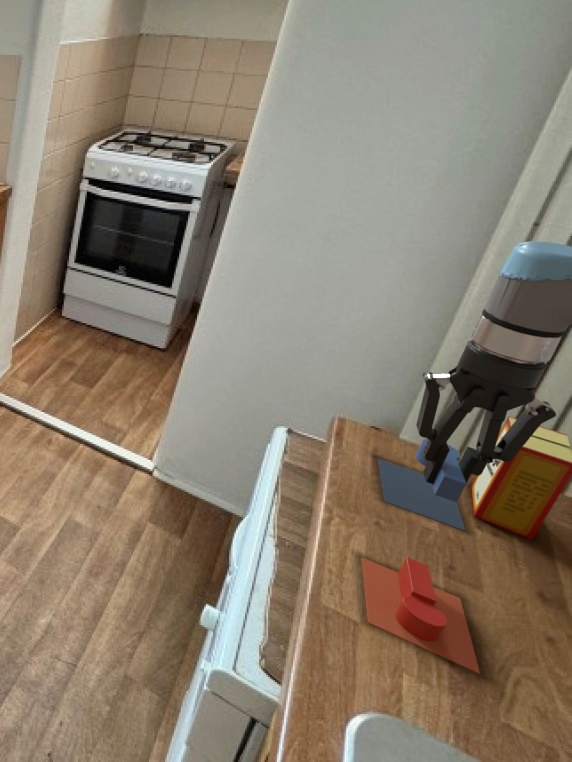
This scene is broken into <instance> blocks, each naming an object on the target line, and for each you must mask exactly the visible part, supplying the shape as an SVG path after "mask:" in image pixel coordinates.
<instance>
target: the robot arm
mask: <svg viewBox="0 0 572 762" xmlns="http://www.w3.org/2000/svg"><path fill="white" fill-rule="evenodd" d="M502 266H503V267H501V268H500V271H499V273H498V275H497V278H496V280H495V282H494V285H493V287H492V289H491V291H490V294H489V296H488V299H487V300H486V303H485V305H484V307H483V309H482V311H481V314H480V316H479V318H478V320H477V322H476V325H475V326H474V329H473V331H472V333H471V335H470V338H471V340H468V341H467V343H466V345H465V347H464V350H463V352H462V354H461V356H460V358H459V360H458V362H457V364H456V366H455V367H454V368H452V369H449V371H448V372H447V373H440V374H439V373H438V374H434V373H433V372H432V371H424V372H423V373H422V378H423V381H424V384H425V388H424V392H423V396H422V400H421V403H420V408H419V411H418V416H417V420H416V429H417V431H418V435H419V437H421V438H425V439H429V440H428V442H427V444H426V446H425V448H424V451H423V453H424V457H425V460H428V462H427V465H426V466H424V468H423V471H422V473H423V474H424V476H425V479H426V482H428V483H431V484H433V482H434V480H435V478H436V476H437V474H438V472H439V470H440V468H441V467H442V465H443V463H444V461H445V459H446V457H447V455H448V453H449V451H450V450H449V447H448V445H449V444H448V441H449V440H450V438H451V436H452V435H453V434H454V433H455V431H456V430H457V429H458V428H459V426H460V425H461V423H462V422H463V421H464V419H465V418H466V416H467V415H468V414H471V413H472V412H473V410H474V409H475V408H478V409H483V410H485V412H484V416H483V420H482V423H481V426H480V429H479V433H478V437H477V440H476V445H475V448H473V447H471V446H467V447H466V449H465V450H464V452H463V455H461V457H460V459H459V461H458V463H459V466H460V468H461V471H462V474H463V476H464V479H465V481H466V484H467V483H468V482H469V480H470V477H471V476H472V475H474V476H475V477H476V476H479V475H481V474H482V472H483V470H484V468H485V467H486V465H487V463H492V462H493V459H500V460H502V461H504V462H510V461H511V460H512V459H513V458H514V457H515V455H516V454H517V453H518V452H519V450H520V449H521V448H522V447H523V446H524V444H525V443H526V442H527V441H528V439H529V438H530V437H531V436H532V435H533V433H534V432H535V431H536V430H537V428H538V427H539V426H541V425H542V424H544V423H546V422H549V420H552V419H554V418H555V417H556V416H557V413H556V411H555V410H554V408H553V407H552V405H551V403H549V402H548V401H546V400H541V399H538V398H537V397H536V394H535V388H536V387H537V385H538V383H539V381H540V380H541V377H542V375H543V374H544V372H545V370H546V368H547V364H546V363H547V362H550V360H551V359H552V357H553V355H554V353H555V351H556V349H557V347H558V345H559V344H560V341H561V339H562V337H563V336H564V333H565V332H566V330H567V328H568V327H569V326H572V246H570V245H568V244H567V245H566V244H561V243H557V242H551V241H550V242H549V241H539V240H532V241H525V242H522V243H519V244H517V245H516V246H515V247H514V248H513V249H512V251H510V254H509V256H508V257H507V259H506V261H505V263H504V264H503V265H502ZM448 384H451V386H452V388H453V391H454V392H455V395H454V397H453V400H452V402H451V403H450V405H449V406H448V407H447V409H446V410H445V411H444V413H443V414H442V416H441V417H440V418H439V420H438V421H437V422H436V423H435V425H434V422H435V418H436V415H437V409H438V406H439V402H440V398H441V392H440V391H444V390H445V389H446V387H447V385H448ZM524 405H525V406H524ZM522 406H524V408H525V409H524V410H523V411H522V412H521V413H520V415H519V416H518V417H517V418H516V419H517V420H516V421H515V422H514V424H513V425H512V426H511V427H510V429H509V430H508V431H507V432H506V434H505V435H504V436H503V437H502V439H501V440H500V441H499V443H498V444H497V445H496V443H497V439H498V436H499V433H500V431H501V429H502V427H503V426H502V425H503V422H506V417H507V414H508V412H509V411H512V410H514V409H517V408H519V407H522ZM433 426H434V427H433Z"/></svg>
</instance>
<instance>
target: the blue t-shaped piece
mask: <svg viewBox="0 0 572 762" xmlns="http://www.w3.org/2000/svg"><path fill="white" fill-rule="evenodd" d="M428 440H429V439H427V438H425V439H423V440H421V443H420V445H419V447H418V449H417V451H416V453H415V459H416V461H417V462H418V463H419V464H421V465H422V466H424V467H426V465H427V462H428V460H425V457H424V453H423V451H424V448H425V446H426V444H427V442H428ZM448 447H449V450H450V451H449V453H448V455H447V457H446V459H445V461H444V463H443V465H442V467H441V468H440V470H439V472H438V474H437V476H436V478H435V480H434V482H433V484H432V487H433V490H434V494H435V495H437V496H440V497H442V498H445V499H448V500H451V501H454V502H457V503H458V501H459V499H460V497H461V495H462V494H463V491H464V490H465V487H466V485H467V483H466V481H465V479H464V476H463V474H462V471H461V468H460V466H459V462H460V460H461V458H462V455H461V453H460V451H459V450H457V449H456V448H455V447H453V446H452V445H449V444H448Z"/></svg>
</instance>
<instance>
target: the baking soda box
mask: <svg viewBox="0 0 572 762" xmlns="http://www.w3.org/2000/svg"><path fill="white" fill-rule="evenodd" d="M516 420H517V418H515V417H512V416H509V415H508V417H507V418H506V419H505V421H504V424H503V426H502V427H501V429H500V433H499V436H498V439H497V443H496V445H497V444H498V443H499V441H500V440H501V439H502V437H503V436H504V435H505V434H506V432H507V431H508V430H509V429H510V427H511V426H512V425H513V424H514V422H515V421H516ZM571 477H572V445H571V442H570V439H569V435H568V434H567V433H563V432H560V431H557V430H554V429H550V428H547V427H544V426H541V425H540V426H539V427H538V428H537V430H536V431H535V432H534V433H533V435H532V436H531V437H530V438H529V439H528V441H527V442H526V443H525V444H524V446H523V447H522V448H521V449H520V450H519V452H518V453H517V454H516V455H515V457H514V458H513V459H512V460H511V461H510V462H504V461H502V460H500V459H493V462H492V463H487V465H486V467H485V468H484V470H483V472H482V474H481V475H479V476H476V475H475V478H474V480H473V481H472V483H471V485H470V488H471V498H472V508H473V516H474V518H477V519H479V520H482V521H484V522H487V523H489V524H492V525H494V526H497V527H498V528H501V529H504V530H507V531H510V532H511V533H514V534H517V535H518V536H519V535H520V536H522V537H524V538H526V539H529V540H533V539H534V537H535V535H536V534H537V533H538V530H539V529H540V527H541V526H542V524H543V523H544V521H545V519H546V518H547V516H548V515H549V513H550V511H551V510H552V508H553V506H554V504H555V503H556V501H557V500H558V498H559V497H560V495H561V493H562V492H563V490H564V489H565V487H566V485H567V483H568V482H569V480H570V478H571Z"/></svg>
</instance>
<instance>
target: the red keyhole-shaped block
mask: <svg viewBox="0 0 572 762" xmlns="http://www.w3.org/2000/svg"><path fill="white" fill-rule="evenodd" d="M397 572H398V579H399V585H400V591H401V598H402V602H401V604H400V606H399V608H398V610H397V611H396V614H395V616H396V619H397V621H398V622H399V624H400V625H401V626H402V627H403V628H404V629H405V630H407V631H408V632H409V633H411V634H412V635H414V636H416V637H418V638H420V639H423V640H426V641H436V640H438V638H439V637H440V635H441V633H442V631H443V630H444V628H445V626H446V624H447V618H446V616H445V615H444V614H443V612H442V611H441V610H440V609H439V608H437V607H436V606H435V605H434V604H435V602H436V599H435V594H434V589H433V587H434V586H433V581H432V576H431V571H430V568H429V565H428V564H425V563H424V562H420V561H418V560H415V559H413V558H410V557H408V556H406V557H405V559H404V560H403V563H402V564H401V566H400V569H399V571H397Z"/></svg>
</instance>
